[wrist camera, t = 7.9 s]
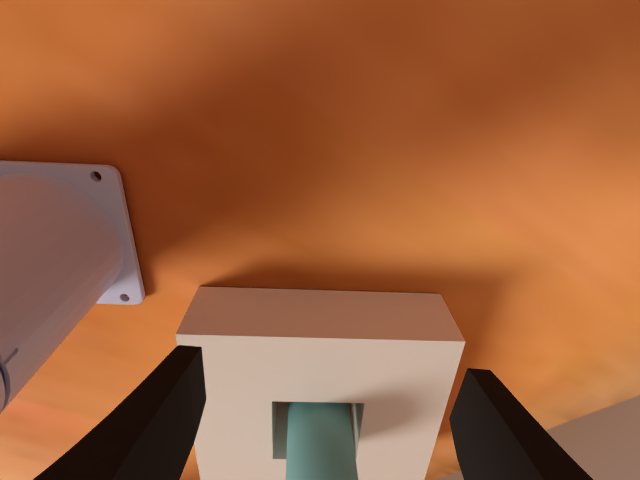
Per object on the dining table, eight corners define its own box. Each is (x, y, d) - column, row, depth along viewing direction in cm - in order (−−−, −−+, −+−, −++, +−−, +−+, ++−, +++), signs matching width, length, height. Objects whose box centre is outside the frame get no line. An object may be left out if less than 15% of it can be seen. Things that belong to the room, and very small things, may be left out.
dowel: (288, 391, 25) (282, 527, 18) (291, 351, 23) (286, 484, 16) (340, 392, 25) (355, 527, 18) (347, 353, 24) (366, 484, 16)
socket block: (218, 442, 27) (203, 500, 24) (198, 286, 21) (175, 334, 17) (403, 445, 28) (417, 502, 24) (440, 293, 22) (465, 341, 18)
